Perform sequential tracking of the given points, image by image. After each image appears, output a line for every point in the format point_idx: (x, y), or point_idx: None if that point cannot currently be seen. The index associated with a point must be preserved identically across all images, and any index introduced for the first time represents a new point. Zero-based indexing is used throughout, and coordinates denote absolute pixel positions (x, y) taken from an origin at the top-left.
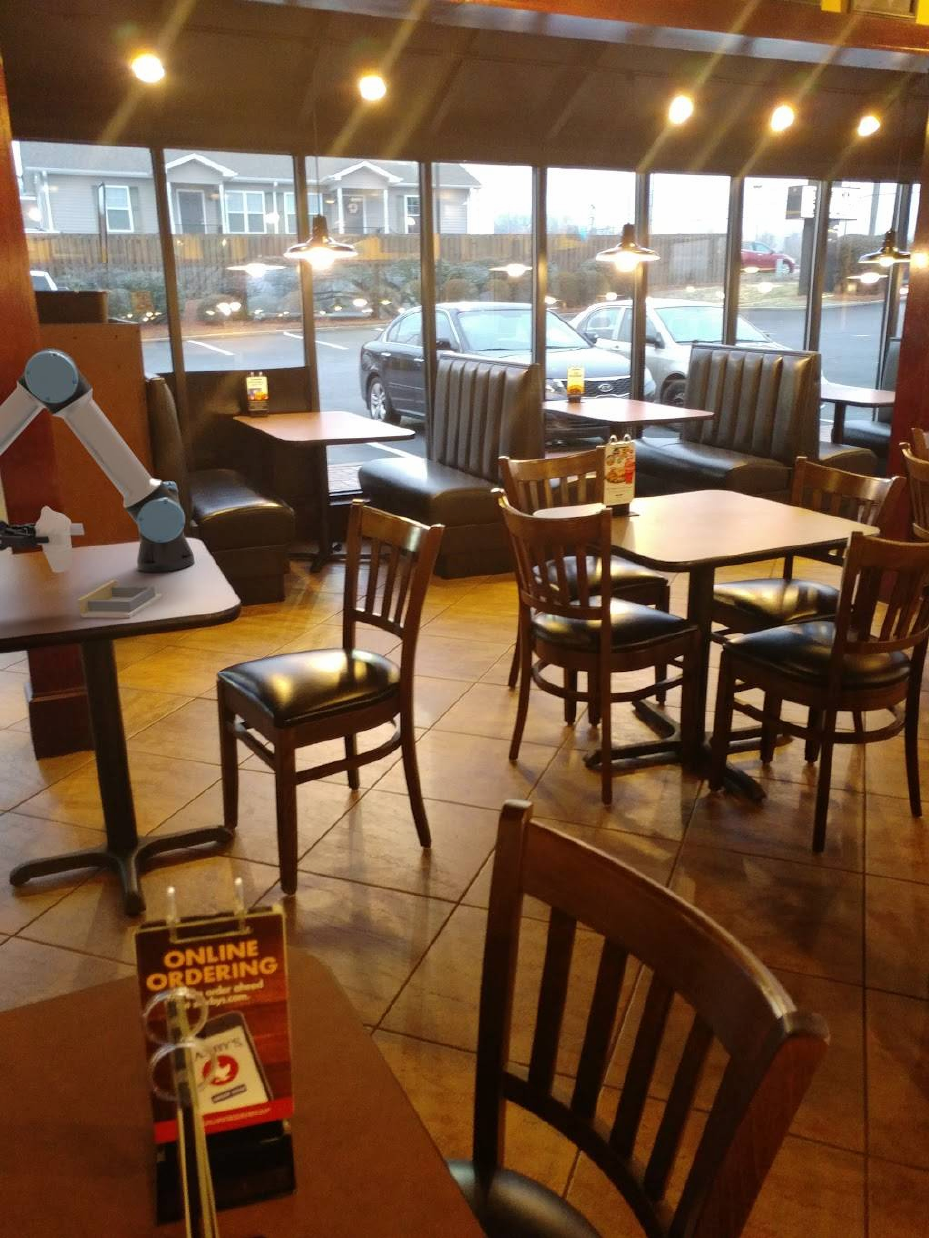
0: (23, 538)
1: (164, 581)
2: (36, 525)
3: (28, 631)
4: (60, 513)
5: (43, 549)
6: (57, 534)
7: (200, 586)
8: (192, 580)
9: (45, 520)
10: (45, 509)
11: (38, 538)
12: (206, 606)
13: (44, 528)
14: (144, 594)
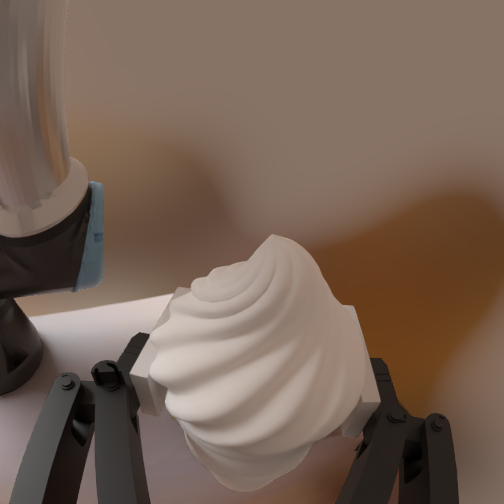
0: (447, 424)
1: (97, 357)
2: (348, 388)
3: None
4: (223, 268)
5: (285, 468)
6: (355, 318)
7: (154, 312)
8: (114, 324)
9: (341, 313)
10: (309, 256)
11: (391, 388)
12: None
13: (363, 343)
14: None
